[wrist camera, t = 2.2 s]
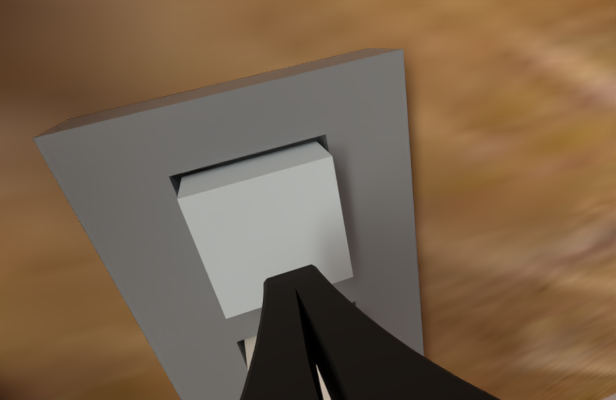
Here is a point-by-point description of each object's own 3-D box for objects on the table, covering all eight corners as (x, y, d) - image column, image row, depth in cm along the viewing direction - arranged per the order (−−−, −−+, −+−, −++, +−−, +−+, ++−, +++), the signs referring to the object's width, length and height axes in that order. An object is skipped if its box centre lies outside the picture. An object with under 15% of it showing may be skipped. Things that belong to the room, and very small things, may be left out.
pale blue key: (224, 285, 15) (226, 319, 13) (181, 177, 12) (177, 199, 11) (336, 249, 15) (353, 276, 13) (316, 141, 13) (332, 155, 11)
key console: (253, 481, 24) (258, 534, 22) (69, 119, 13) (32, 138, 10) (408, 419, 26) (431, 461, 23) (368, 48, 15) (403, 48, 12)
